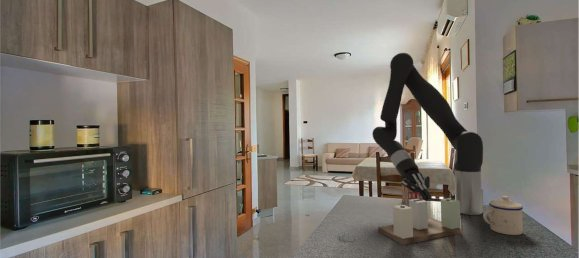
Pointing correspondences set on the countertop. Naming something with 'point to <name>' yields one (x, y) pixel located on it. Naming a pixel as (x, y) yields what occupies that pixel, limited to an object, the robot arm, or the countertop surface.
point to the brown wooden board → (420, 232)
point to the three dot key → (419, 213)
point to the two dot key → (450, 213)
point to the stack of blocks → (409, 195)
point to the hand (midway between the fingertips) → (428, 199)
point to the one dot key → (403, 221)
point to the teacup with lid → (505, 216)
